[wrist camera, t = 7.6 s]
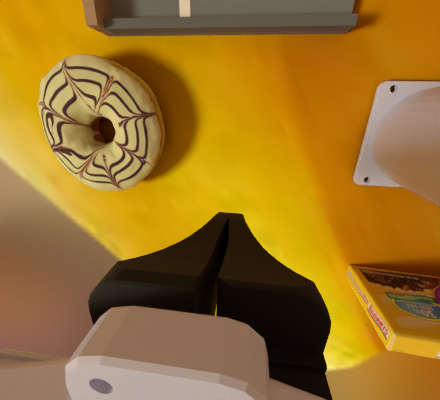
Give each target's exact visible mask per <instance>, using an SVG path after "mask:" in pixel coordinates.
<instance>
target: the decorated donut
mask: <svg viewBox="0 0 440 400" xmlns="http://www.w3.org/2000/svg"><path fill="white" fill-rule="evenodd" d="M38 108H39V113H40V117H41V120H42V125H43V130H44V133H45V136H46V138H47V141H48V143H49V145H50V147H51V149H52V151H53V153H54V154H55V156H56V157H57V158H58V160H59V161H60V162H61V164H62V165H63V166H64V167H65V168H66V169H67V170H68V171H69V172H70V173H71V174H72V175H74V176H75V177H76V178H77V179H78V180H80V181H81V182H83V183H85V184H86V185H88V186H91V187H93V188H94V189H97V190H103V191H123V190H126V189H128V188H131V187H134V186H135V185H137V184H138V183H139V182H140V181H142V180H143V179H144V178H146V177H147V176H148V175H149V174H150V173H151V172H152V171H153V169H154V168H155V166H156V165H157V162H158V160H159V158H160V156H161V154H162V151H163V146H164V143H165V127H164V121H163V116H162V113H161V110H160V107H159V104H158V102H157V99H156V97H155V95H154V93H153V91H152V90H151V89H150V87H149V86H148V85H147V84H146V83H145V82H144V81H143V80H142V79H141V78H140V77H139V76H137V75H136V74H135V73H133V72H132V71H130V70H129V69H128V68H127V67H123V66H122V65H121V64H119V63H116V62H115V61H112V60H109V59H106V58H103V57H100V56H95V55H88V54H78V55H73V56H71V57H66V58H64V59H63V60H61V61H59V62H58V63H57V64H56V65H55V66H54V67H53V68H52V69H51V70H50V71H49V72H48V74H47V75H45V76H44V77H43V78H42V79H41V83H40V98H39V100H38ZM101 117H106V118H108V119H109V120H111V121H112V123H113V125H114V126H113V127H114V128H115V131H116V134H115V136H114V140H113V141H112V142H110V143H109V142H106V141H105V140H104V138H103V137H102V136H101V133H100V131H99V127H98V125H99V120H100V118H101Z"/></svg>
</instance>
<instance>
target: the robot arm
mask: <svg viewBox="0 0 440 400" xmlns="http://www.w3.org/2000/svg"><path fill="white" fill-rule="evenodd" d="M393 85H394V86H395V90H394V91H393V92H391V91H390V88H391V86H393ZM366 177H368V180H367V181H364V178H366ZM353 181H354V182H355V183H356V184H358V185H371V186H388V187H404V188H406V189H408V190H409V191H411V192H413V193H415V194H417V195H419V196H421V197H423V198H424V199H426V200H428V201H430V202H432V203H434V204H436V205H437V206H439V207H440V81H385V82H382V83H381V84H380V85H379V86H378V88H377V91H376V94H375V98H374V102H373V105H372V109H371V113H370V117H369V120H368V124H367V128H366V132H365V135H364V139H363V143H362V146H361V150H360V154H359V158H358V161H357V165H356V169H355V172H354V176H353ZM88 303H89V311H90V314H91V318H92V321H93V325H94V326H93V328H92V329H91V330H90V332H89V333H88V334H87V336H86V337H85V339H84V340H83V341H82V343H81V344H80V346H79V347H78V349H77V350H76V351H75V353H74V354H73V355H72V357H71V358H62V357H56V356H49V355H43V354H37V353H30V352H24V351H17V350H11V349H5V348H0V400H332V397H331V393H330V389H329V386H328V382H327V379H326V375H325V372H326V370H327V365H326V362H325V358H324V355H323V352H324V349H325V346H326V342H327V339H328V336H329V333H330V328H331V320H330V316H329V313H328V310H327V307H326V305H325V302H324V300H323V298H322V296H321V294H320V293H319V291H318V289H317V287H316V285H315V283H314V282H313V281H311V280H309V279H307V278H305V277H303V276H301V275H299V274H298V273H296V272H294V271H292V270H291V269H289V268H288V267H286V266H285V265H283V264H282V263H280V262H279V261H278V260H276V259H275V258H274V257H273V256H271V255H270V254H269V253H268V252H267V251H266V250H265V249H264V248H263V247H262V246H261V245H260V243H259V242H258V241H257V240H256V238H255V237H254V235H253V234H252V232H251V231H250V229H249V227H248V226H247V224H246V222H245V219H244V216H243V215H242V214H237V213H224V212H219V213H217V214H216V215H215V216H214V217H213V218H212V219H211V220H210V221H209V222H208V223H206V224H205V225H204V226H203V227H202V228H200V229H199V230H198V231H196V232H195V233H194V234H192V235H190V236H189V237H187V238H185V239H184V240H182V241H180V242H178V243H176V244H174V245H171V246H169V247H167V248H165V249H162V250H159V251H157V252H154V253H151V254H147V255H144V256H140V257H136V258H132V259H128V260H123V261H118V262H117V263H116V264H115V265H114V266H113V267H112V268H111V270H110V271H109V272H108V273H107V274H106V276H105V277H104V278H103V279H102V280H101V281H100V283H99V284H98V285H97V286H96V287H95V289H94V290H93V291H92V293H91V294H90V297H89V301H88ZM216 304H217V316H215V311H216Z"/></svg>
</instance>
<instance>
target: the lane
mask: <svg viewBox="0 0 440 400" xmlns="http://www.w3.org/2000/svg"><path fill="white" fill-rule="evenodd" d="M82 1H83V7H84V12H85V18H86V24H87V26H89V27H91V28H93V29H95V30H97V31H99V32H101V33H103V34H105V35H107V36H164V35H260V34H345V33H347V32H348V31H349V30H351V29H352V28H353V27H354V26H356V23H357V18H358V14H352V11H353V6H354V2H355V0H82Z"/></svg>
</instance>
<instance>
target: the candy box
mask: <svg viewBox="0 0 440 400" xmlns="http://www.w3.org/2000/svg"><path fill="white" fill-rule="evenodd" d="M345 278H346V279H347V281H348V283H349V285H350V286H351V288H352V290H353V291H354V293H355V295H356V296H357V298H358V300H359V302H360V303H361V305H362V307H363V308H364V310H365V312H366V313H367V315H368V317H369V319H370V321H371V322H372V324H373V326H374V328H375V329H376V331H377V333H378V334H379V336H380V338H381V340H382V341H383V343H384V345H385V347H386V348H387V350H390V351H396V352H402V353H408V354H414V355H419V356H425V357H431V358H438V359H440V277H437V276H430V275H423V274H415V273H407V272H400V271H392V270H385V269H377V268H370V267H362V266H355V265H349V266H348V268H347V270H346V273H345Z"/></svg>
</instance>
